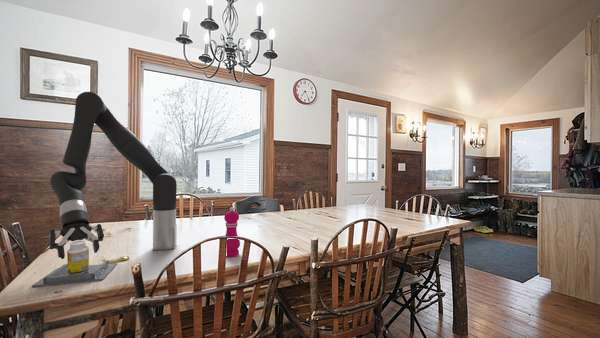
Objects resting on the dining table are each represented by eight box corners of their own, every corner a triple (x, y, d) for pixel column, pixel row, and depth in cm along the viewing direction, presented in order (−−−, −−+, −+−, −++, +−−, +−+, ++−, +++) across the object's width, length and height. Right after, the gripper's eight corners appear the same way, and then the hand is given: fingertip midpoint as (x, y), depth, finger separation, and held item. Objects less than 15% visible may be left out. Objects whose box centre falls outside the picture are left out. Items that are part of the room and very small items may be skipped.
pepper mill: (235, 258, 108) (236, 209, 107) (218, 256, 109) (219, 208, 109) (242, 252, 115) (243, 206, 114) (227, 251, 116) (227, 205, 116)
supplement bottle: (71, 270, 91) (70, 241, 90) (91, 267, 93) (90, 239, 93) (65, 277, 86) (64, 246, 85) (86, 274, 88) (85, 244, 88)
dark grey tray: (117, 264, 99) (117, 258, 99) (102, 280, 86) (102, 273, 86) (57, 269, 93) (57, 263, 93) (32, 287, 80) (32, 280, 80)
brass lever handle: (127, 257, 106) (127, 255, 106) (130, 259, 104) (130, 257, 104) (107, 262, 101) (107, 260, 101) (110, 264, 99) (110, 261, 99)
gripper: (47, 211, 89) (52, 253, 81) (100, 206, 99) (108, 243, 92) (46, 224, 92) (49, 266, 85) (96, 218, 103) (104, 255, 96)
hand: (80, 254), depth 88 cm, fingers open, 8 cm apart
